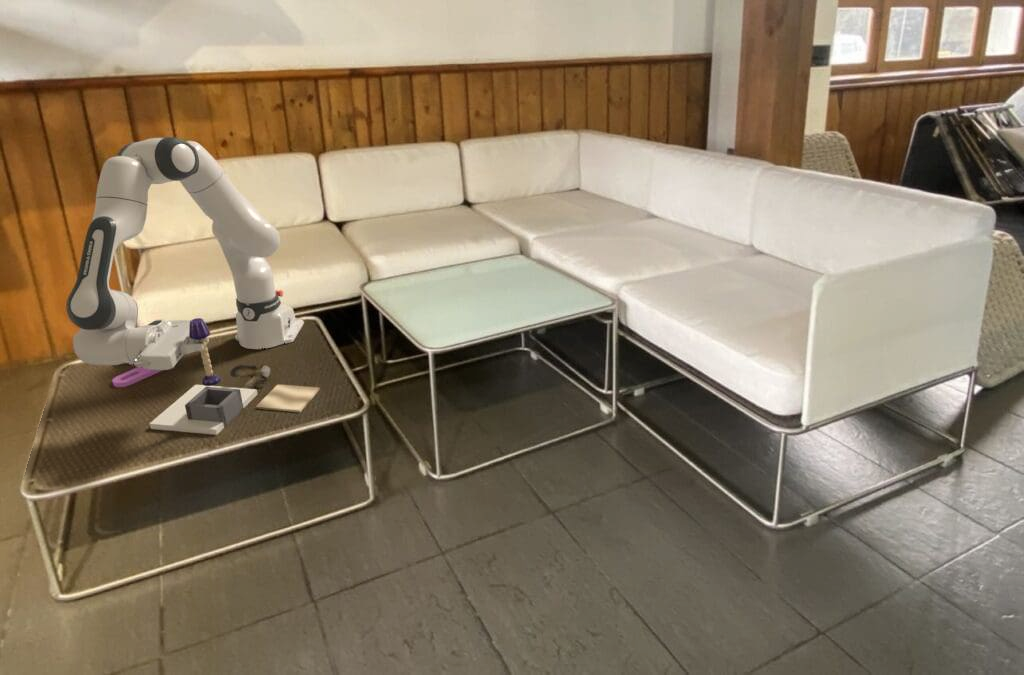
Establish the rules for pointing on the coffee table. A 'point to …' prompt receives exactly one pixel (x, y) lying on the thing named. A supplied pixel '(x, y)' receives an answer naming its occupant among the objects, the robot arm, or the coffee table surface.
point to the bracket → (133, 376)
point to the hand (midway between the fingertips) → (205, 343)
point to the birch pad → (288, 398)
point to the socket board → (204, 409)
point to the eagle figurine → (251, 374)
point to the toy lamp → (200, 333)
